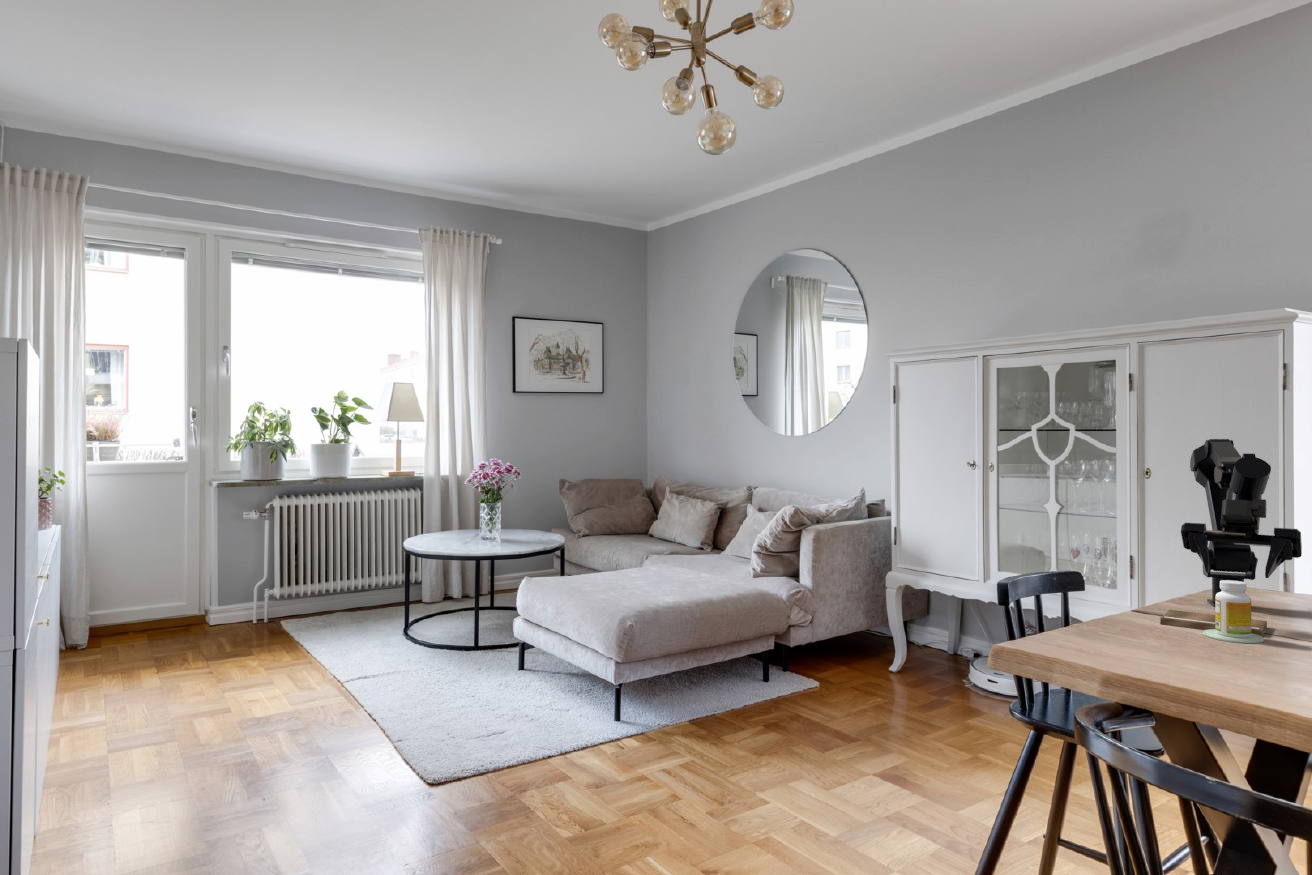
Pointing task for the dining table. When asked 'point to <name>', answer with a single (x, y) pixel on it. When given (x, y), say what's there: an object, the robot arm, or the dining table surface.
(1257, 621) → the walnut board
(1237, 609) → the supplement bottle
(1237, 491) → the robot arm
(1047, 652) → the dining table surface
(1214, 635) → the end pad
